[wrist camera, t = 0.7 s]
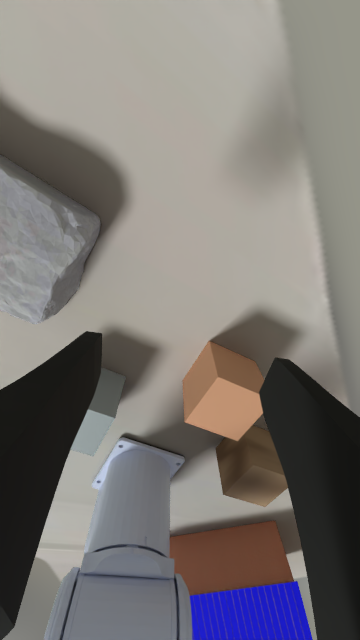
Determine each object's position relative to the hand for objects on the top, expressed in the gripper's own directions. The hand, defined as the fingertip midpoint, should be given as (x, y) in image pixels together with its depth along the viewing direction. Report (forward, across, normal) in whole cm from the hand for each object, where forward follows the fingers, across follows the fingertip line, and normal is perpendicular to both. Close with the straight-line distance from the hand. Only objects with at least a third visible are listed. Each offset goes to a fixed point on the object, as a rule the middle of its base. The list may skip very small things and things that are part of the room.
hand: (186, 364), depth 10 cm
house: (+8, -13, +42) cm, 45 cm away
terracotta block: (+10, -5, +8) cm, 14 cm away
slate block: (+10, +7, +12) cm, 17 cm away
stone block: (+11, +13, -1) cm, 17 cm away
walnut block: (+9, -10, +18) cm, 22 cm away
